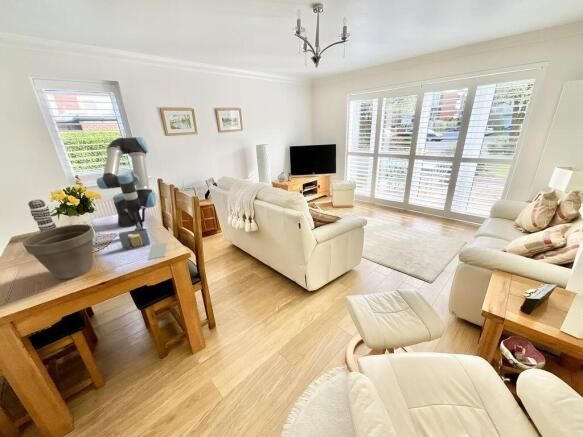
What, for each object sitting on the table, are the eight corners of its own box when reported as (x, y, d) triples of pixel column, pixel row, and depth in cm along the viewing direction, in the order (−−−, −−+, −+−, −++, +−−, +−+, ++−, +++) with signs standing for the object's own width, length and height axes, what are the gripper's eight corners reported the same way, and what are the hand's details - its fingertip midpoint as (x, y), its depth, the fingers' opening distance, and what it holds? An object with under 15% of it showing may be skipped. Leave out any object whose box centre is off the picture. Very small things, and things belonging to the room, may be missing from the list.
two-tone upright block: (137, 236, 160) (135, 228, 158) (145, 234, 162) (143, 227, 159) (133, 246, 146) (130, 238, 144) (141, 245, 148) (138, 236, 145)
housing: (124, 247, 146) (119, 232, 142) (150, 242, 151) (146, 228, 147) (123, 249, 143) (118, 234, 140) (149, 244, 148) (145, 230, 144)
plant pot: (104, 253, 140) (91, 219, 131) (106, 272, 122) (91, 234, 113) (46, 269, 125) (27, 232, 117) (39, 293, 107) (16, 252, 99)
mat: (152, 245, 147) (152, 245, 147) (167, 242, 150) (166, 242, 150) (148, 259, 132) (148, 259, 131) (164, 256, 134) (164, 256, 134)
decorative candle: (61, 233, 169) (46, 199, 159) (44, 238, 161) (27, 203, 152) (57, 230, 173) (42, 197, 164) (40, 235, 166) (23, 201, 156)
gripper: (118, 201, 148) (129, 235, 156) (141, 198, 152) (151, 231, 161) (121, 198, 154) (131, 231, 163) (143, 195, 158) (152, 227, 167)
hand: (141, 231), depth 162 cm, fingers closed
